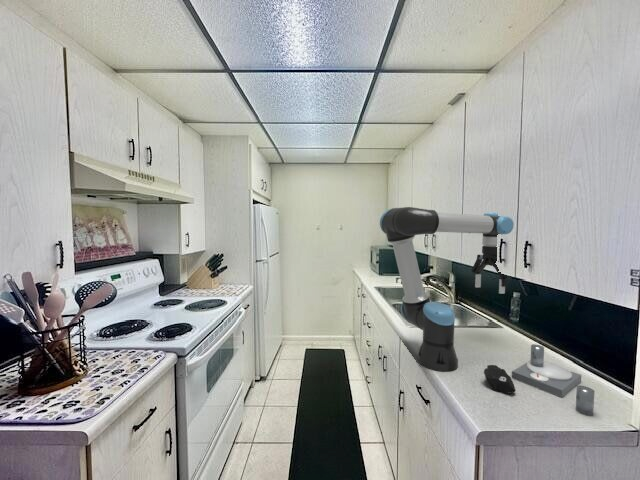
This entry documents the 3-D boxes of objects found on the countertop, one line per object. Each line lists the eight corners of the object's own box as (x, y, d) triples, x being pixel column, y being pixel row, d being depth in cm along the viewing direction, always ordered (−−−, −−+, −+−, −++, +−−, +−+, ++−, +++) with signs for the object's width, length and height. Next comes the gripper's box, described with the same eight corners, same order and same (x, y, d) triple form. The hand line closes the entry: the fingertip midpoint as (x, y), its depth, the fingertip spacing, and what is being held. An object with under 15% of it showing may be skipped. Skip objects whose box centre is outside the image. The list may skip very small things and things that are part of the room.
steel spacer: (590, 417, 87) (592, 394, 87) (573, 410, 91) (574, 388, 90) (595, 412, 90) (596, 390, 89) (578, 406, 93) (579, 384, 92)
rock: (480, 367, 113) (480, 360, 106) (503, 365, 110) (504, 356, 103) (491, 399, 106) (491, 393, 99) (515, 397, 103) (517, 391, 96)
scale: (561, 397, 97) (562, 387, 97) (511, 377, 110) (511, 368, 109) (581, 381, 107) (581, 372, 107) (533, 365, 120) (533, 356, 119)
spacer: (540, 368, 110) (541, 349, 109) (528, 364, 113) (529, 346, 113) (545, 365, 112) (546, 347, 111) (533, 361, 115) (533, 343, 115)
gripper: (522, 247, 131) (519, 295, 132) (476, 243, 154) (474, 284, 155) (508, 247, 128) (506, 296, 129) (464, 244, 152) (463, 285, 153)
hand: (489, 290), depth 142 cm, fingers open, 13 cm apart
